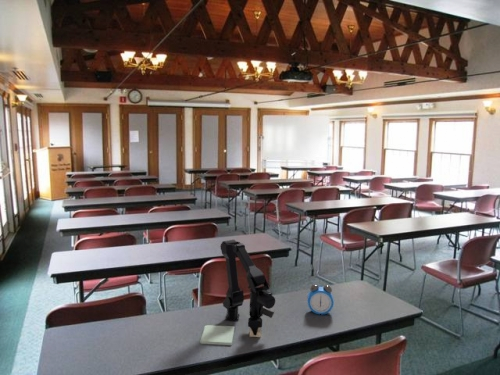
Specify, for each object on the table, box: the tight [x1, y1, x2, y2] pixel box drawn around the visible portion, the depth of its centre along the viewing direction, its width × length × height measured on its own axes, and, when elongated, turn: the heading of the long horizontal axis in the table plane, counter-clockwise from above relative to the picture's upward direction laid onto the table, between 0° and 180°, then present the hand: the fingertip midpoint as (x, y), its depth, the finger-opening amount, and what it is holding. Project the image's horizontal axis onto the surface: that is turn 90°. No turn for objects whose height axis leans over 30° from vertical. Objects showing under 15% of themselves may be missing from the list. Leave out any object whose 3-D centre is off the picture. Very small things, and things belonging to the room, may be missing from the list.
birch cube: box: [249, 327, 262, 338], centre depth 177 cm, size 5×5×5 cm
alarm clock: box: [307, 283, 334, 315], centre depth 199 cm, size 13×6×15 cm, turn 83°
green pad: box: [199, 324, 236, 346], centre depth 175 cm, size 14×14×1 cm
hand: (255, 331), depth 177 cm, fingers closed on birch cube, 5 cm apart
